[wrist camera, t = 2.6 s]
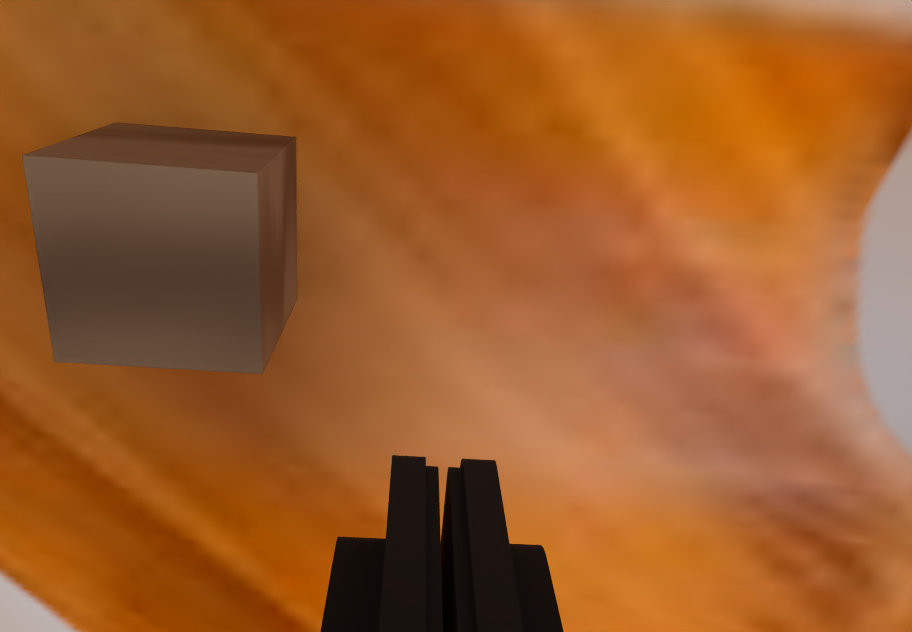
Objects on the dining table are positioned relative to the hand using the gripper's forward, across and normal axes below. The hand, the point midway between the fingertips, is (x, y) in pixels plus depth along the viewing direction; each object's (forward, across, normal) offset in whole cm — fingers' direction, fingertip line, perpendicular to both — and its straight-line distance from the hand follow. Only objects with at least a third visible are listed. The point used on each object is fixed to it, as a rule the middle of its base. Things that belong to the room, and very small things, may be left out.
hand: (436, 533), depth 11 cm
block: (+16, +8, -1) cm, 18 cm away
